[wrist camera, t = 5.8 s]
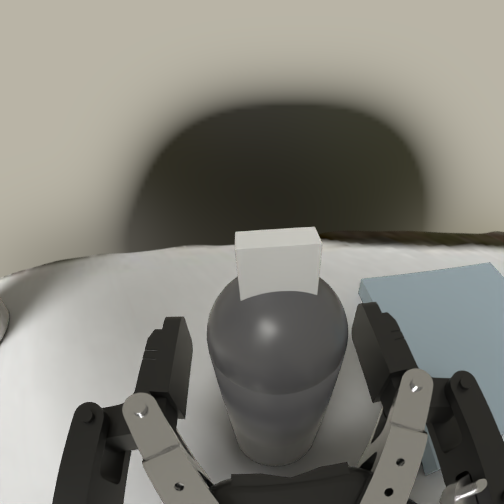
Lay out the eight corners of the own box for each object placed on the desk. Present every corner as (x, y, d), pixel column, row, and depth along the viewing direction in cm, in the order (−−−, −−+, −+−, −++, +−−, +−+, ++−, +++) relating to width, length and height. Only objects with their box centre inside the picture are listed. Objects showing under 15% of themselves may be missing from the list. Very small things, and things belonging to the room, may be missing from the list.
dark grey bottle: (237, 468, 12) (168, 308, 5) (236, 401, 16) (197, 206, 9) (319, 460, 12) (400, 289, 5) (309, 396, 16) (338, 197, 9)
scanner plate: (425, 475, 10) (437, 469, 9) (358, 292, 23) (361, 278, 22) (561, 387, 10) (571, 376, 9) (485, 273, 23) (490, 262, 22)
